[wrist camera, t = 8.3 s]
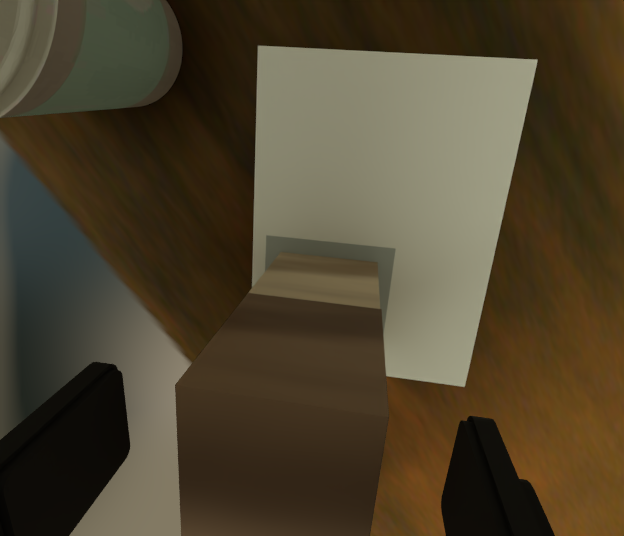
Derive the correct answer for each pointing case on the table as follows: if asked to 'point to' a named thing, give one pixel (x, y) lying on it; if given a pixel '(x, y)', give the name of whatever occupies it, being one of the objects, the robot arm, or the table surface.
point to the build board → (392, 183)
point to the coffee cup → (85, 55)
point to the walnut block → (284, 422)
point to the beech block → (321, 280)
